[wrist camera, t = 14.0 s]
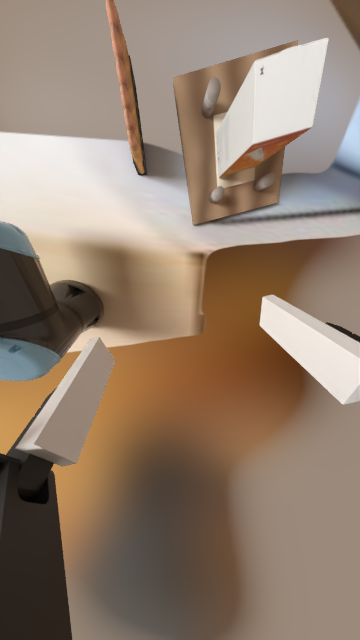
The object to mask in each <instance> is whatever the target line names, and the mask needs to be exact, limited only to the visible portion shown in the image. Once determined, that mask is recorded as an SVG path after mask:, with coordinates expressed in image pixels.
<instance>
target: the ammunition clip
mask: <svg viewBox="0 0 360 640" xmlns="http://www.w3.org/2000/svg"><path fill="white" fill-rule="evenodd" d="M106 7H107V13H108V19H109V24H110V29H111V34H112V44H113V50H114V54H115V59H116V67H117V74H118V79H119V83H120V88H121V98H122V103H123V107H124V114H125V122H126V126H127V131H128V140H129V144H130V150H131V153H132V157H133V163H134V165H135V168H136V170H137V173H138V175H147V169H146V162H145V154H144V146H143V139H142V132H141V124H140V116H139V109H138V100H137V93H136V86H135V80H134V75H133V70H132V65H131V60H130V56H129V55H128V51H127V46H126V41H125V38H124V35H123V33H122V28H121V25H120V20H119V16H118V13H117V9H116V6H115V3H114V1H113V0H106Z"/></svg>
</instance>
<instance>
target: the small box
mask: <svg viewBox="0 0 360 640" xmlns="http://www.w3.org/2000/svg"><path fill="white" fill-rule="evenodd" d="M328 41H329V38H324V39H320V40H317V41H313V42H310V43H306V44H303V45H299V46H293V47H290V48H287V49H285V50H282V51H280V52H278V53H275V54H272V55H269V56H267V57H264V58H261V59H257V60H256V61H254V63H253V65H252V67H251V69H250V71H249V73H248V75H247V76H246V78H245V80H244V82H243V84H242V86H241V88H240V89H239V91H238V93H237V95H236V97H235V99H234V101H233V103H232V104H231V106H230V108H229V110H228V112H227V114H226V116H225V117H224V119H223V121H222V123H221V125H220V127H219V129H218V130H217V132H216V143H217V159H218V175H219V178H221V177H223V176H226V175H229V174H233V173H236V172H239V171H243V170H247V169H250V168H254V167H256V166H258V165H259V164H261V163H262V162H263V161H265V160H266V159H268V158H269V157H270V156H272V155H273V154H275V153H276V152H277V151H279V150H280V149H282V148H283V147H285V146H286V145H287V144H289V143H290V142H292V141H293V140H295V139H296V138H297V137H299V136H300V135H301V134H303V133H304V132H306V131H307V130H309V129H310V128H312V126H313V121H314V116H315V110H316V105H317V99H318V94H319V89H320V83H321V78H322V72H323V67H324V62H325V56H326V51H327V46H328Z"/></svg>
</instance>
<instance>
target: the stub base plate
mask: <svg viewBox="0 0 360 640" xmlns="http://www.w3.org/2000/svg"><path fill="white" fill-rule="evenodd" d="M297 45H298V40H297V41H294V42H290V43H287V44H284V45H280V46H277V47H274V48H270V49H267V50H264V51H260V52H257V53H254V54H250V55H247V56H244V57H240V58H237V59H234V60H231V61H227V62H224V63H220V64H217V65H214V66H210V67H207V68H204V69H200V70H197V71H194V72H190V73H187V74H184V75H180V76H177V77H174V83H173V86H174V94H175V101H176V108H177V115H178V122H179V129H180V136H181V143H182V151H183V158H184V165H185V172H186V179H187V186H188V193H189V200H190V207H191V214H192V221H193V225H195V224H199V223H203V222H207V221H210V220H214V219H218V218H222V217H225V216H229V215H233V214H237V213H241V212H244V211H248V210H252V209H256V208H259V207H263V206H267V205H271V204H274V203H278V198H279V190H280V182H281V174H282V166H283V158H284V150H285V147H283V148H282V149H280V150H279V151H277V152H276V153H275V154H273V155H272V156H270V157H269V158H268V159H266V160H265V161H263V162H262V163H261V164H259V165H258V166H256V167H254V168H250V169H247V170H243V171H239V172H236V173H233V174H229V175H226V176H223V177H221V178H219V175H218V159H217V143H216V132H217V130H218V129H219V127H220V125H221V123H222V121H223V119H224V117H225V116H226V114H227V112H228V110H229V108H230V106H231V104H232V103H233V101H234V99H235V97H236V95H237V93H238V91H239V89H240V88H241V86H242V84H243V82H244V80H245V78H246V76H247V75H248V73H249V71H250V69H251V67H252V65H253V63H254V61H256V60H257V59H261V58H264V57H267V56H269V55H272V54H275V53H278V52H280V51H282V50H285V49H287V48H290V47H293V46H297Z"/></svg>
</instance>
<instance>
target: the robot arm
mask: <svg viewBox="0 0 360 640" xmlns="http://www.w3.org/2000/svg"><path fill="white" fill-rule="evenodd" d="M39 259H40V258H39V256H38V255H36V253H35V251H34V249H33V247H32V245H31V243H30V241H29V238H28V237H27V235H26V234H25V233H24V232H23V231H22V230H21V229H19V228H18V227H16V226H14V225H12V224H9V223H6V222H1V221H0V379H1V380H9V381H27V380H33V379H37V378H40V377H42V376H44V375H45V374H47V373H48V372H49V371H50V370H51V369H52V368H53V367H54V365H56V364H57V363H58V362H59V361H60V360H61V358H62V357H63V356H64V354H65V353H66V352H67V351H68V349H69V348H70V347H71V346H72V344H73V343H74V342H75V341H76V339H77V338H78V337H79V335H80V334H81V333H82V332H84V331H86V330H88V329H90V328H92V327H94V326H95V325H96V324H97V323H98V322H99V321H100V319H101V318H102V316H103V304H102V302H101V300H100V298H99V297H98V295H97V294H96V293H95V292H94V291H93V290H91V289H90V288H89V287H87V286H85V285H84V284H81V283H79V282H75V281H70V280H62V281H58V282H55V283H53V284H51V285H49V283H48V280H47V278H46V275H45V273H44V271H43V268H42V266H41V263H40V261H39ZM260 326H261V327H262V328H263V329H264V330H265V331H266V332H267V333H268V334H269V335H270V336H271V337H272V338H273V339H274V340H275V341H276V342H278V344H279V345H281V346H282V347H283V348H284V349H285V350H286V351H287V352H288V353H289V354H290V355H291V356H292V357H293V358H294V359H295V360H296V361H297V362H298V363H300V364H301V365H302V366H303V367H304V368H305V369H306V370H307V371H308V372H309V373H310V374H311V375H312V376H313V377H314V378H315V379H316V380H317V381H318V382H320V383H321V384H322V385H323V386H324V387H325V388H326V389H327V390H328V391H329V392H330V393H331V394H332V395H333V396H334V397H335V398H336V399H337V400H338V401H340V402H341V403H342V404H348V403H352V402H357V401H360V337H359V336H357V335H356V334H352V332H350V331H348V330H346V329H344V328H342V327H340V326H337V325H334V324H331V323H323V322H321V321H320V320H318V319H316V318H314V317H312V316H310V315H309V314H307V313H305V312H303V311H302V310H300V309H298V308H296V307H294V306H292V305H291V304H289V303H287V302H285V301H283V300H281V299H280V298H278V297H276V296H274V295H269V296H265V297H263V299H262V308H261V318H260ZM114 363H115V359H114V358H113V356H112V355H111V353H110V352H109V351H108V349H107V348H106V346H105V345H104V343H103V342H102V340H101V339H100V338H95V339H91V340H90V341H89V342H88V343H87V345H86V346H85V348H84V349H83V351H82V352H81V354H80V355H79V357H78V358H77V359H76V361H75V362H74V364H73V365H72V367H71V368H70V370H69V371H68V373H67V374H66V376H65V377H64V378H63V380H62V381H61V383H60V384H59V386H58V387H57V388H56V389H55V390H54V391H53V392H52V393H51V394H50V395H49V396H48V397H47V398H46V399H45V401H44V402H43V404H42V405H41V408H39V409H38V411H37V412H36V414H35V416H34V417H33V418H32V419H31V421H30V422H29V423H28V425H27V426H26V428H25V429H24V430H23V432H22V433H21V435H20V436H19V437H18V439H17V440H16V442H15V443H14V445H13V446H12V447H11V449H10V450H9V451H8V453H7V454H6V455H4V454H1V453H0V640H72V633H71V624H70V614H69V605H68V597H67V587H66V577H65V569H64V559H63V550H62V540H61V532H60V523H59V514H58V504H57V494H56V485H55V476H54V473H53V471H51V468H52V466H53V464H54V463H55V464H57V465H60V466H67V465H71V464H76V463H77V461H78V459H79V456H80V454H81V451H82V448H83V446H84V443H85V440H86V438H87V435H88V432H89V430H90V427H91V424H92V422H93V419H94V416H95V414H96V411H97V408H98V406H99V403H100V400H101V398H102V395H103V392H104V390H105V387H106V384H107V381H108V379H109V376H110V374H111V371H112V368H113V366H114Z"/></svg>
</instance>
